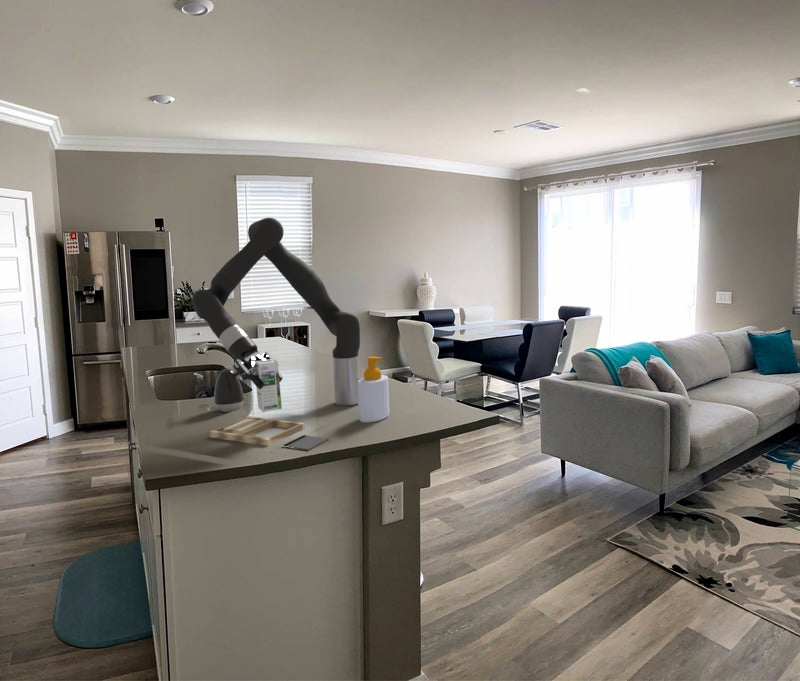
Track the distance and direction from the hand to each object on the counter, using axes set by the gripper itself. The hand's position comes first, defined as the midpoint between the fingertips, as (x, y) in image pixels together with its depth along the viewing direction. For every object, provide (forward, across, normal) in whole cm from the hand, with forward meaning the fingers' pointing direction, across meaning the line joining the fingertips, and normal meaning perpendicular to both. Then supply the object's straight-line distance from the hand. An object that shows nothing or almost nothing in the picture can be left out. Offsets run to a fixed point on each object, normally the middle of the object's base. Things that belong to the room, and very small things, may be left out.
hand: (271, 383), depth 169 cm
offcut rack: (+7, 0, +16) cm, 18 cm away
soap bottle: (+24, +30, +1) cm, 39 cm away
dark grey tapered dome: (-14, +20, +38) cm, 46 cm away
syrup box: (+4, 0, +7) cm, 8 cm away
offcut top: (+2, 0, +20) cm, 20 cm away
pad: (+19, 0, +4) cm, 20 cm away
